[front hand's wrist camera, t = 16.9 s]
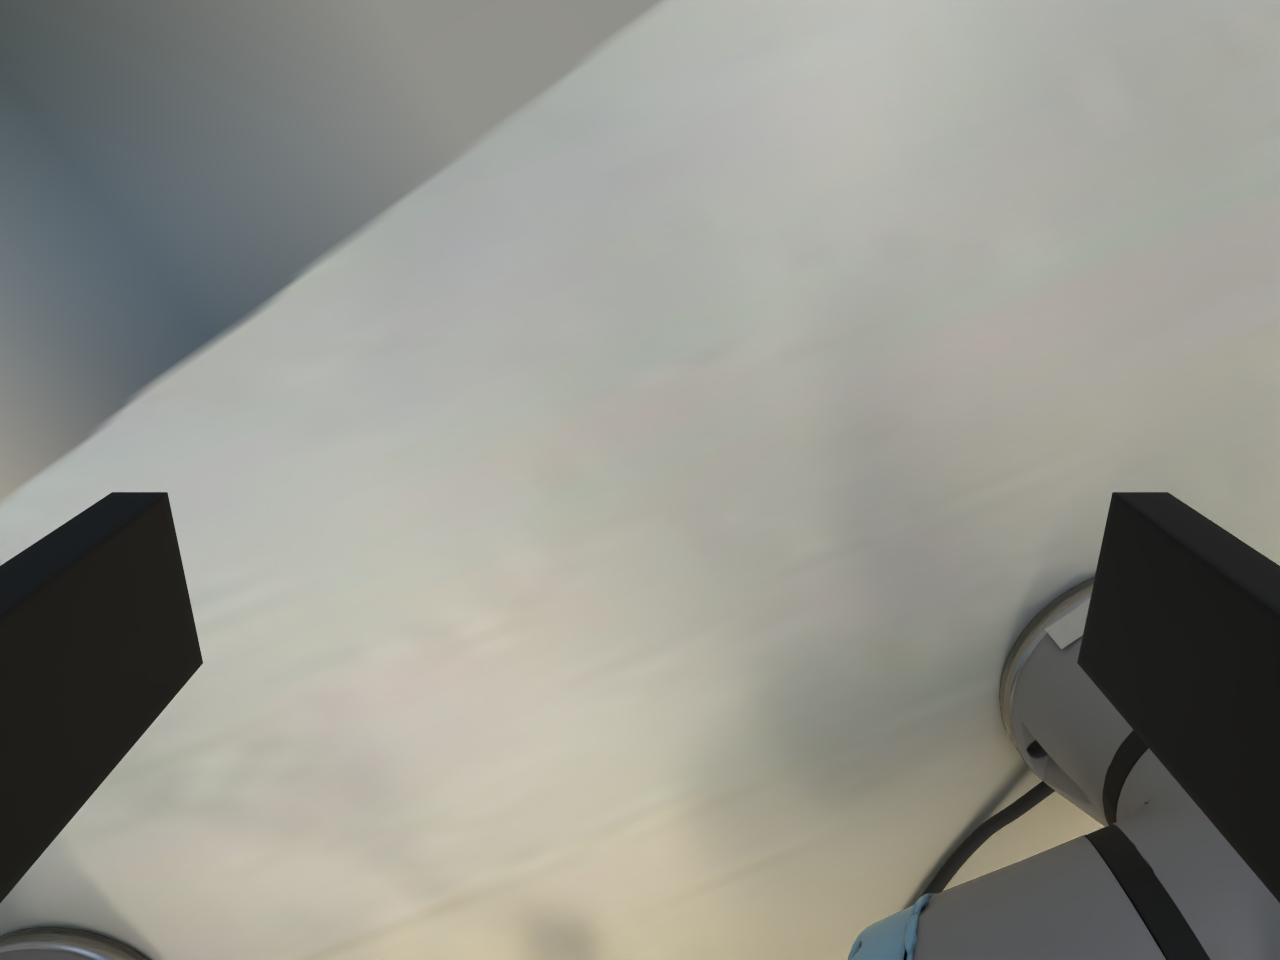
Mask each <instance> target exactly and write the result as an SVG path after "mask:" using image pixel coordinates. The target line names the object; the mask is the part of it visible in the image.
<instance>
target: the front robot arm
mask: <svg viewBox="0 0 1280 960" xmlns="http://www.w3.org/2000/svg"><path fill="white" fill-rule="evenodd" d="M202 663H203V661H202V656H201V651H200V647H199V642H198V637H197V632H196V627H195V623H194V618H193V613H192V608H191V604H190V599H189V594H188V589H187V584H186V580H185V575H184V570H183V565H182V560H181V556H180V551H179V546H178V541H177V536H176V532H175V527H174V522H173V517H172V512H171V508H170V503H169V498H168V493H167V492H112V493H111V494H109V495H108V496H106V497H105V498H103V499H101V500H100V501H98V502H97V503H95V504H94V505H92V506H91V507H89V508H88V509H86V510H85V511H83V512H82V513H80V514H79V515H77V516H76V517H74V518H73V519H71V520H70V521H68V522H67V523H65V524H63V525H62V526H60V527H59V528H57V529H56V530H54V531H53V532H51V533H50V534H48V535H47V536H45V537H44V538H42V539H41V540H39V541H38V542H36V543H35V544H33V545H32V546H30V547H29V548H27V549H26V550H24V551H22V552H21V553H19V554H18V555H16V556H15V557H13V558H12V559H10V560H9V561H7V562H6V563H4V564H3V565H1V566H0V903H1V902H2V900H3V899H4V898H5V897H6V896H7V895H8V893H9V892H10V891H11V890H12V889H13V887H14V886H15V885H16V884H17V883H18V881H19V880H20V879H21V878H22V877H23V876H24V874H25V873H26V872H27V871H28V870H29V868H30V867H31V866H32V865H33V864H34V863H35V861H36V860H37V859H38V858H39V857H40V855H41V854H42V853H43V852H44V851H45V849H46V848H47V847H48V846H49V845H50V844H51V842H52V841H53V840H54V839H55V838H56V836H57V835H58V834H59V833H60V832H61V831H62V829H63V828H64V827H65V826H66V825H67V823H68V822H69V821H70V820H71V819H72V818H73V816H74V815H75V814H76V813H77V812H78V810H79V809H80V808H81V807H82V806H83V804H84V803H85V802H86V801H87V800H88V799H89V797H90V796H91V795H92V794H93V793H94V791H95V790H96V789H97V788H98V787H99V786H100V784H101V783H102V782H103V781H104V780H105V778H106V777H107V776H108V775H109V774H110V772H111V771H112V770H113V769H114V768H115V767H116V765H117V764H118V763H119V762H120V761H121V759H122V758H123V757H124V756H125V755H126V754H127V752H128V751H129V750H130V749H131V748H132V746H133V745H134V744H135V743H136V742H137V740H138V739H139V738H140V737H141V736H142V735H143V733H144V732H145V731H146V730H147V729H148V727H149V726H150V725H151V724H152V723H153V722H154V720H155V719H156V718H157V717H158V716H159V714H160V713H161V712H162V711H163V710H164V708H165V707H166V706H167V705H168V704H169V703H170V701H171V700H172V699H173V698H174V697H175V695H176V694H177V693H178V692H179V691H180V690H181V688H182V687H183V686H184V685H185V684H186V682H187V681H188V680H189V679H190V678H191V677H192V675H193V674H194V673H195V672H196V671H197V669H198V668H199V667H200V666H201V665H202ZM1000 709H1001V714H1002V719H1003V722H1004V725H1005V728H1006V730H1007V733H1008V735H1009V737H1010V739H1011V740H1012V742H1013V743H1014V745H1015V747H1016V748H1017V750H1018V751H1019V753H1020V755H1021V756H1022V758H1023V759H1024V761H1025V763H1026V764H1027V765H1028V766H1029V768H1030V769H1031V770H1032V771H1033V772H1034V773H1035V774H1036V775H1037V776H1038V777H1039V778H1040V779H1041V780H1043V781H1042V782H1041V783H1039V784H1038V785H1037V786H1035V787H1034V788H1033V789H1031V790H1030V791H1029V792H1027V793H1026V794H1025V795H1023V796H1022V797H1021V798H1019V799H1018V800H1017V801H1015V802H1014V803H1013V804H1011V805H1010V806H1008V807H1007V808H1005V809H1004V810H1002V811H1000V812H999V813H997V814H996V815H994V816H993V817H991V818H990V819H988V820H987V821H986V822H984V823H983V824H982V825H981V826H980V827H979V828H978V829H976V830H975V831H974V832H973V833H972V834H971V835H970V836H969V837H968V838H967V839H966V840H965V841H964V842H963V844H962V845H961V846H960V847H959V848H958V849H957V850H956V851H955V852H954V854H953V855H952V856H951V857H950V858H949V860H948V861H947V862H946V863H945V865H944V866H943V867H942V869H941V870H940V871H939V872H938V874H937V875H936V877H935V878H934V879H933V881H932V882H931V884H930V885H929V886H928V888H927V889H926V891H925V892H924V893H923V895H922V896H921V897H920V898H919V899H918V900H917V901H916V902H915V904H914V905H912V906H910V907H908V908H906V909H904V910H902V911H900V912H898V913H896V914H894V915H891V916H889V917H887V918H885V919H883V920H881V921H879V922H876V923H874V924H872V925H870V926H869V927H867V928H866V929H865V930H864V931H862V932H861V933H860V935H859V936H858V937H857V939H856V940H855V942H854V944H853V946H852V949H851V952H850V954H849V957H848V960H1280V566H1279V565H1277V564H1276V563H1274V562H1273V561H1271V560H1270V559H1268V558H1267V557H1265V556H1264V555H1262V554H1261V553H1259V552H1258V551H1256V550H1254V549H1253V548H1251V547H1250V546H1248V545H1247V544H1245V543H1244V542H1242V541H1241V540H1239V539H1238V538H1236V537H1235V536H1233V535H1232V534H1230V533H1229V532H1227V531H1226V530H1224V529H1223V528H1221V527H1220V526H1218V525H1217V524H1215V523H1213V522H1212V521H1210V520H1209V519H1207V518H1206V517H1204V516H1203V515H1201V514H1200V513H1198V512H1197V511H1195V510H1194V509H1192V508H1191V507H1189V506H1188V505H1186V504H1185V503H1183V502H1182V501H1180V500H1179V499H1177V498H1175V497H1174V496H1172V495H1171V494H1169V493H1168V492H1113V493H1112V498H1111V503H1110V508H1109V512H1108V517H1107V522H1106V527H1105V532H1104V536H1103V541H1102V546H1101V551H1100V556H1099V560H1098V565H1097V570H1096V575H1095V577H1094V578H1092V579H1090V580H1087V581H1085V582H1083V583H1081V584H1080V585H1078V586H1076V587H1074V588H1072V589H1071V590H1069V591H1067V592H1066V593H1064V594H1063V595H1061V596H1060V597H1058V598H1057V599H1056V600H1054V601H1053V602H1052V603H1050V604H1049V605H1048V606H1047V607H1046V608H1045V609H1044V610H1043V611H1041V612H1040V613H1039V614H1038V615H1037V616H1036V617H1035V619H1034V620H1033V621H1032V622H1031V623H1030V624H1029V625H1028V627H1027V628H1026V629H1025V630H1024V632H1023V633H1022V634H1021V636H1020V637H1019V639H1018V640H1017V642H1016V644H1015V645H1014V647H1013V649H1012V651H1011V653H1010V655H1009V658H1008V660H1007V663H1006V665H1005V668H1004V672H1003V675H1002V681H1001V686H1000ZM1054 791H1056V792H1058V793H1059V794H1060V795H1062V796H1063V797H1065V798H1066V799H1067V800H1069V801H1070V802H1072V803H1073V804H1074V805H1076V806H1077V807H1078V808H1080V809H1081V810H1083V811H1084V812H1085V813H1087V814H1088V815H1090V816H1091V817H1092V818H1094V819H1095V820H1097V821H1098V822H1099V823H1101V824H1102V825H1104V826H1105V828H1102V829H1100V830H1097V831H1095V832H1092V833H1090V834H1088V835H1084V836H1081V837H1078V838H1076V839H1074V840H1071V841H1069V842H1066V843H1064V844H1061V845H1059V846H1056V847H1054V848H1052V849H1049V850H1047V851H1044V852H1042V853H1039V854H1037V855H1034V856H1032V857H1030V858H1027V859H1025V860H1022V861H1020V862H1017V863H1015V864H1012V865H1010V866H1007V867H1004V868H1002V869H999V870H997V871H994V872H992V873H989V874H986V875H984V876H981V877H979V878H976V879H974V880H971V881H968V882H966V883H963V884H961V885H958V886H956V887H953V888H950V889H948V890H945V891H943V889H944V888H945V887H946V885H947V884H948V883H949V881H950V880H951V879H952V877H953V876H954V875H955V873H956V872H957V871H958V870H959V869H960V867H961V866H962V865H963V864H964V863H965V862H966V860H967V859H968V858H969V857H970V856H971V855H972V854H973V853H974V852H975V851H976V850H977V849H978V848H979V847H980V846H981V845H982V844H983V843H984V842H985V841H986V840H987V839H988V838H989V837H990V836H992V835H993V834H994V833H995V832H997V831H998V830H999V829H1001V828H1002V827H1004V826H1006V825H1007V824H1009V823H1010V822H1012V821H1014V820H1015V819H1017V818H1018V817H1020V816H1021V815H1023V814H1024V813H1025V812H1027V811H1028V810H1030V809H1031V808H1032V807H1034V806H1035V805H1036V804H1038V803H1039V802H1041V801H1042V800H1043V799H1045V798H1046V797H1047V796H1049V795H1050V794H1051V793H1053V792H1054ZM942 891H943V892H942Z"/></svg>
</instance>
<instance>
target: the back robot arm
mask: <svg viewBox="0 0 1280 960" xmlns="http://www.w3.org/2000/svg"><path fill="white" fill-rule="evenodd" d="M0 960H148V959H147V958H145V957H144V956H142V955H141V954H139V953H138V952H136V951H134V950H132V949H131V948H129V947H127V946H125V945H123V944H121V943H119V942H116V941H114V940H111V939H109V938H106V937H103V936H100V935H97V934H93V933H89V932H85V931H80V930H75V929H67V928H54V927H43V928H31V929H24V930H19V931H15V932H12V933H8V934H5V935H3V936H0Z"/></svg>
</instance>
